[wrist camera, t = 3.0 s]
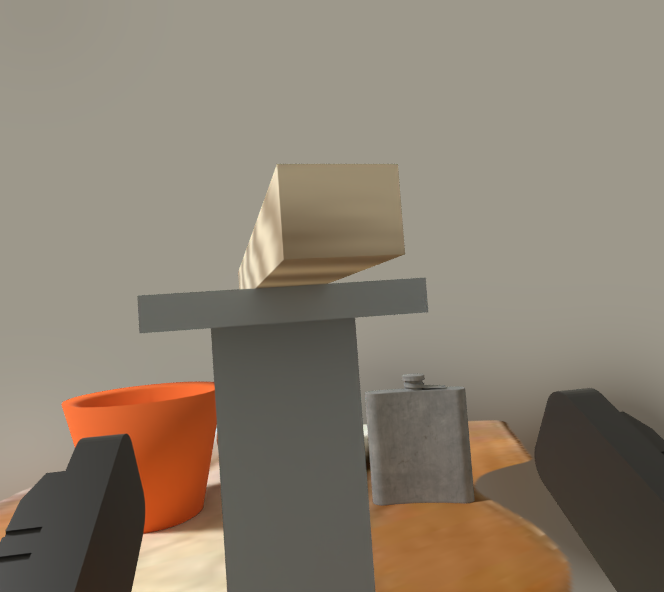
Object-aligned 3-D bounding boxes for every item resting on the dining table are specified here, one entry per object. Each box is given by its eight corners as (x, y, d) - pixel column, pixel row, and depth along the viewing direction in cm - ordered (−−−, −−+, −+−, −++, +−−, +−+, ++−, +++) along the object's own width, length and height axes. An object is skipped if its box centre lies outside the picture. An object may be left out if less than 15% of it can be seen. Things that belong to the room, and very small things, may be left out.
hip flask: (372, 505, 78) (363, 378, 79) (373, 496, 82) (364, 375, 83) (475, 503, 76) (465, 372, 77) (471, 493, 80) (461, 369, 81)
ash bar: (404, 254, 16) (397, 163, 16) (283, 259, 15) (277, 163, 15) (282, 300, 47) (280, 269, 47) (240, 303, 46) (238, 272, 46)
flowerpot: (148, 561, 65) (140, 409, 65) (31, 535, 76) (25, 406, 77) (259, 493, 87) (252, 381, 88) (156, 481, 98) (150, 381, 99)
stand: (472, 853, 27) (425, 277, 29) (172, 925, 25) (137, 295, 26) (374, 605, 51) (351, 297, 52) (216, 631, 49) (196, 308, 50)
